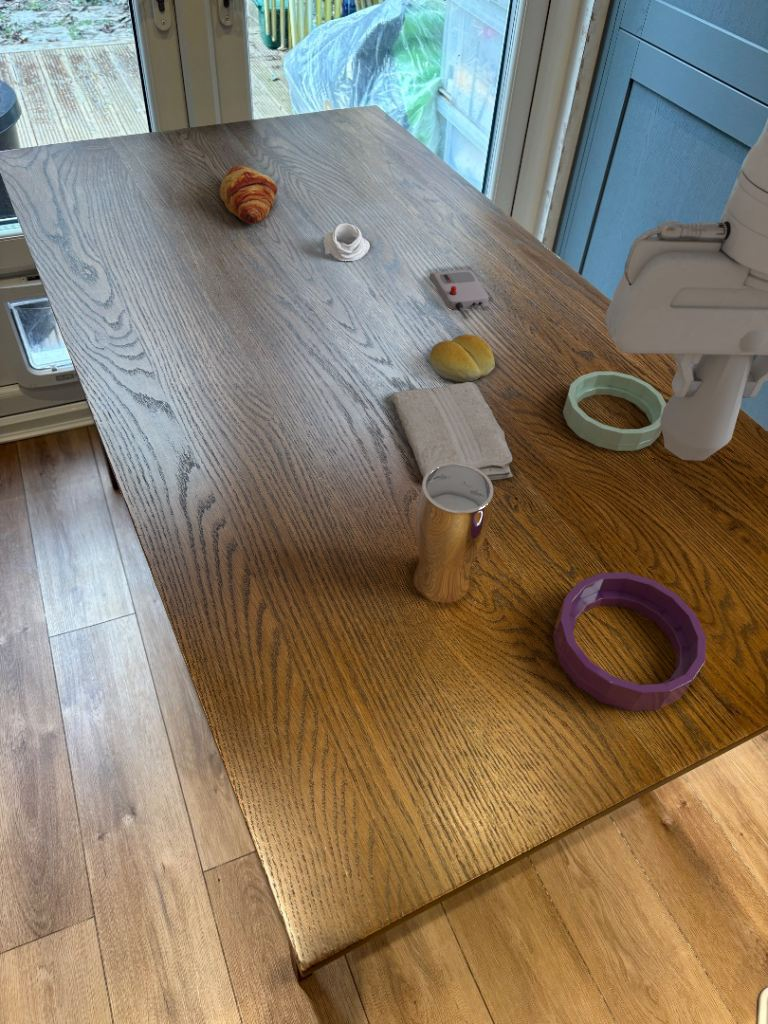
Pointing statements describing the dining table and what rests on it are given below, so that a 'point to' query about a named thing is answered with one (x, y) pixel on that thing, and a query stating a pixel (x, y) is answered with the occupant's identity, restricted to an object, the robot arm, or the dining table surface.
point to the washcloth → (453, 429)
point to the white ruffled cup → (343, 236)
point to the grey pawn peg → (710, 403)
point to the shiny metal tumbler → (450, 528)
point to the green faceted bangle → (618, 387)
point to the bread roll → (462, 358)
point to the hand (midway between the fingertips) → (712, 393)
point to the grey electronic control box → (460, 290)
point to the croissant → (248, 193)
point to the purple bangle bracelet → (653, 605)
